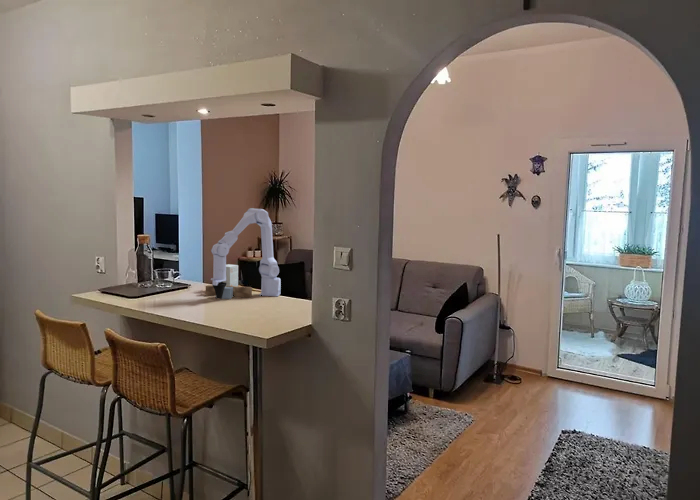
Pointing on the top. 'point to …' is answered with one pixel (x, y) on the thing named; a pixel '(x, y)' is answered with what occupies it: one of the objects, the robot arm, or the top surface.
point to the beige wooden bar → (237, 291)
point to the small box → (231, 275)
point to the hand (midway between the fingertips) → (219, 298)
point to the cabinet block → (227, 293)
